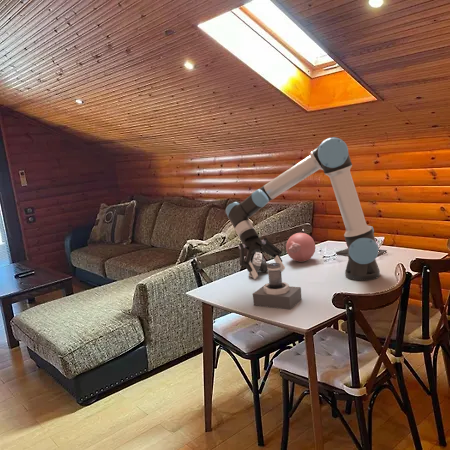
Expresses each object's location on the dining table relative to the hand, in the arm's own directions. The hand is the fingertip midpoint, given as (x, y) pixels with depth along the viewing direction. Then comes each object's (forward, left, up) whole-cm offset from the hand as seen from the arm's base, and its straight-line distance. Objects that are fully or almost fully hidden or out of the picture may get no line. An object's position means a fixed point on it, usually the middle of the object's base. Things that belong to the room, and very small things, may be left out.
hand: (270, 273), depth 183 cm
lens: (-3, +2, -7) cm, 7 cm away
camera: (+23, -33, -12) cm, 42 cm away
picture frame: (-17, -77, -12) cm, 80 cm away
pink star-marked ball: (+10, -56, -12) cm, 58 cm away
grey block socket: (-3, +1, -12) cm, 12 cm away
